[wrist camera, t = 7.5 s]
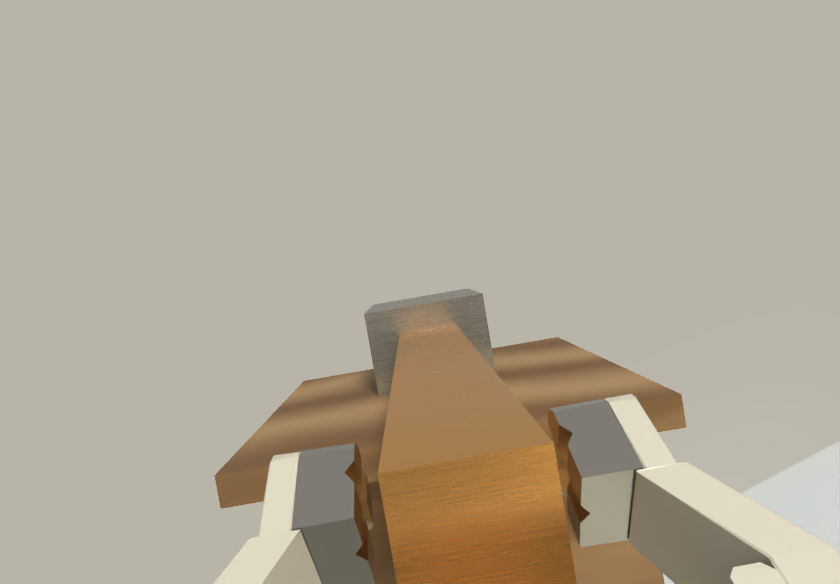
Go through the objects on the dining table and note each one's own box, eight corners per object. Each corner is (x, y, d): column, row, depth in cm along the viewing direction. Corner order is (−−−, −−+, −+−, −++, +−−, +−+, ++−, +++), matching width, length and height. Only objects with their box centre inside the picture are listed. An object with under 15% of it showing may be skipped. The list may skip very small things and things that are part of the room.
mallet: (674, 597, 8) (636, 345, 8) (313, 661, 8) (266, 410, 7) (478, 354, 30) (467, 288, 30) (384, 370, 30) (373, 304, 29)
